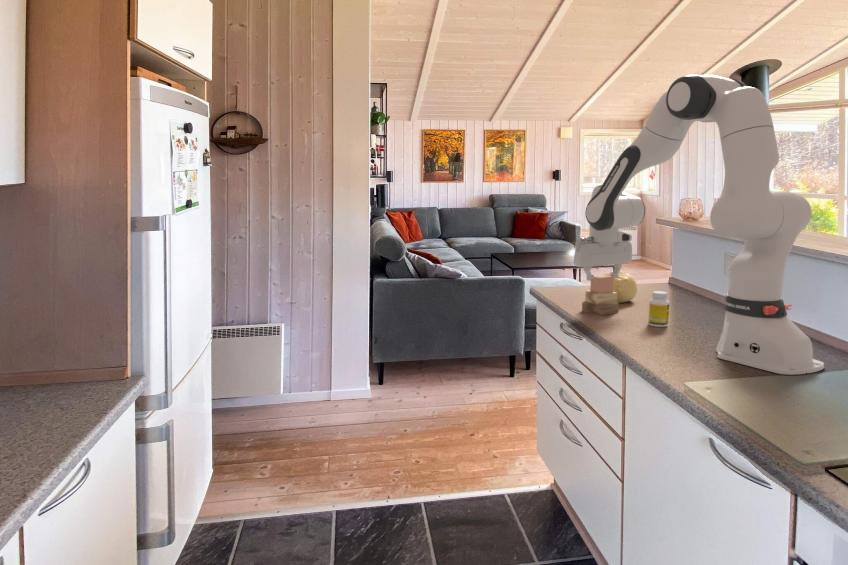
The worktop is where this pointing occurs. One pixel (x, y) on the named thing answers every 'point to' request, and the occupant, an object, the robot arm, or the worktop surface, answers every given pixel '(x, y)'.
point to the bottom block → (599, 308)
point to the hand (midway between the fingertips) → (602, 279)
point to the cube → (602, 284)
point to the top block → (600, 298)
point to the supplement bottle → (658, 309)
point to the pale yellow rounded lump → (624, 287)
